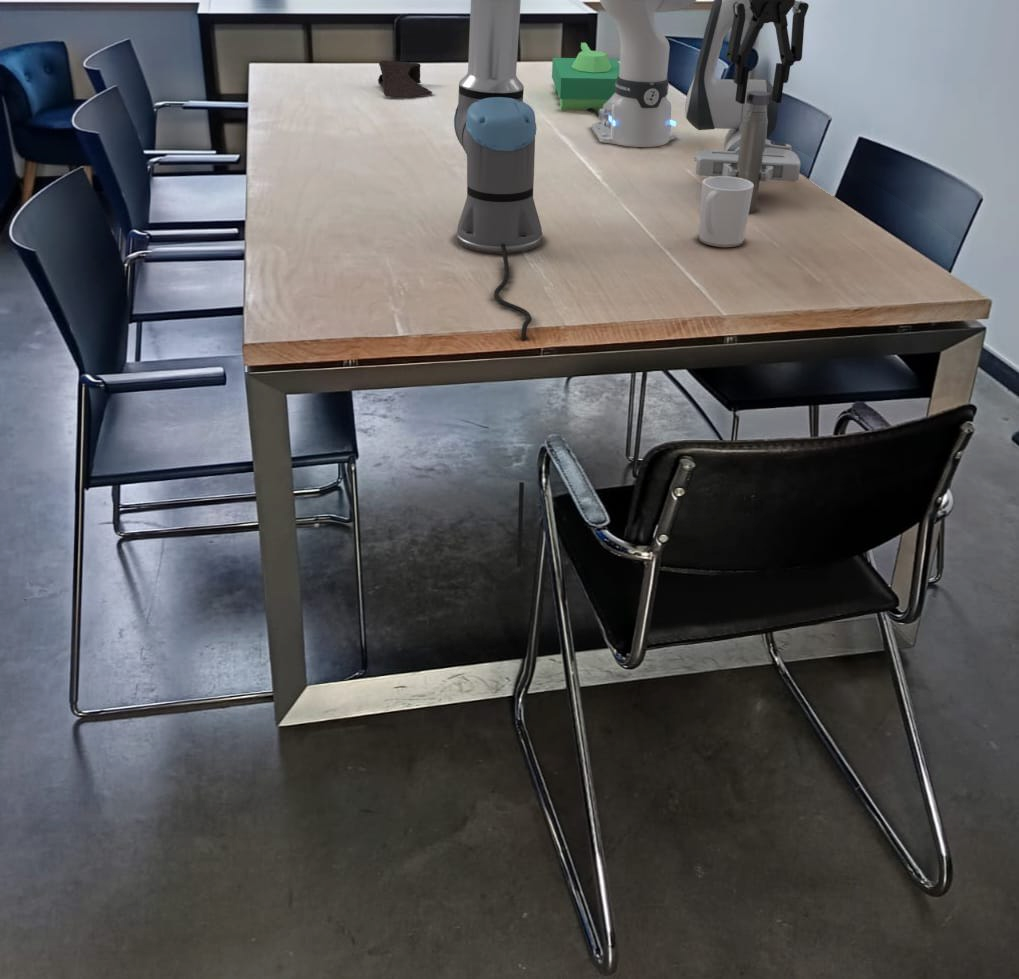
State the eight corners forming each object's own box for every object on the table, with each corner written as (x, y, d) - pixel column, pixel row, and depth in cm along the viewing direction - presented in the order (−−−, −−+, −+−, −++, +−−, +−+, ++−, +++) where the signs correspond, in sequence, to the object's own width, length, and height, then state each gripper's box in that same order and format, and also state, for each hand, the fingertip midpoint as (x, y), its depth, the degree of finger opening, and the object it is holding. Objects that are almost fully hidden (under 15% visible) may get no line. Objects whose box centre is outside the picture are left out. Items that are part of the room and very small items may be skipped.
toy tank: (614, 39, 306) (631, 63, 276) (610, 85, 312) (627, 113, 282) (551, 38, 305) (561, 62, 275) (549, 84, 311) (559, 112, 281)
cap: (749, 105, 202) (750, 95, 201) (743, 100, 206) (744, 90, 205) (772, 105, 202) (773, 95, 201) (766, 100, 206) (767, 90, 205)
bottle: (738, 213, 212) (753, 100, 201) (727, 206, 216) (741, 95, 205) (759, 212, 213) (775, 99, 202) (748, 205, 217) (763, 94, 206)
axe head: (443, 87, 294) (392, 77, 287) (436, 115, 299) (385, 106, 292) (421, 62, 307) (371, 52, 300) (414, 89, 311) (365, 80, 304)
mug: (712, 228, 203) (718, 173, 198) (754, 239, 198) (762, 182, 193) (680, 243, 196) (686, 186, 191) (724, 254, 191) (731, 196, 186)
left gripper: (732, -32, 187) (716, 107, 199) (837, -33, 190) (815, 104, 203) (716, -37, 193) (701, 98, 205) (818, -38, 197) (797, 96, 209)
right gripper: (696, 139, 222) (695, 156, 210) (799, 144, 219) (804, 162, 207) (692, 170, 225) (692, 189, 213) (794, 176, 222) (799, 195, 211)
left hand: (758, 101), depth 204 cm, fingers open, 6 cm apart
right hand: (748, 176), depth 210 cm, fingers closed on bottle, 4 cm apart
